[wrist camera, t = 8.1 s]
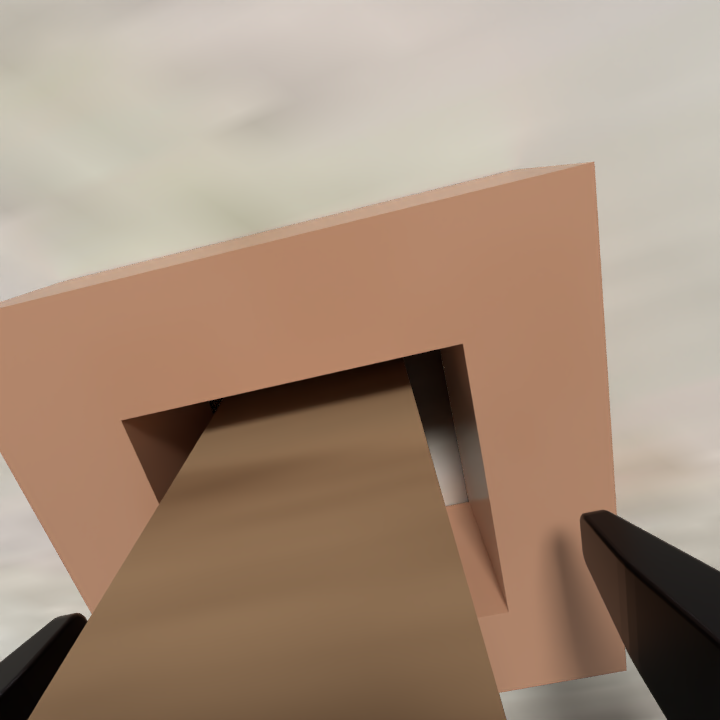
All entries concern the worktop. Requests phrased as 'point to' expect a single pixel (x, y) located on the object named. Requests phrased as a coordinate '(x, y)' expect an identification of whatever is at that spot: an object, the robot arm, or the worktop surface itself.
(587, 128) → the worktop surface
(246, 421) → the walnut peg
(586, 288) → the frame
